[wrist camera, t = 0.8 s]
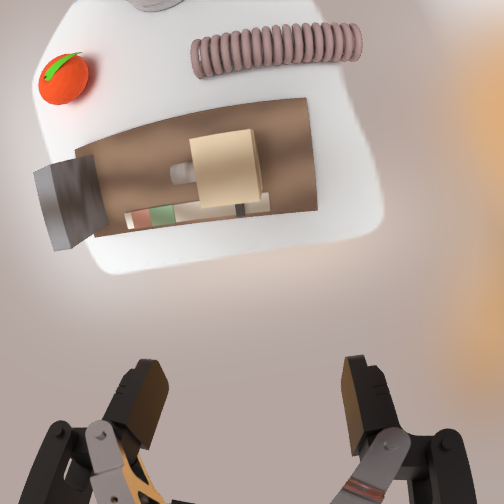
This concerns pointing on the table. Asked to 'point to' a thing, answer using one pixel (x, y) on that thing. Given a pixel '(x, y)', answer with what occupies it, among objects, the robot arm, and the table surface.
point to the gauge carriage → (223, 169)
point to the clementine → (63, 79)
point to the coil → (276, 47)
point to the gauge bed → (159, 180)
